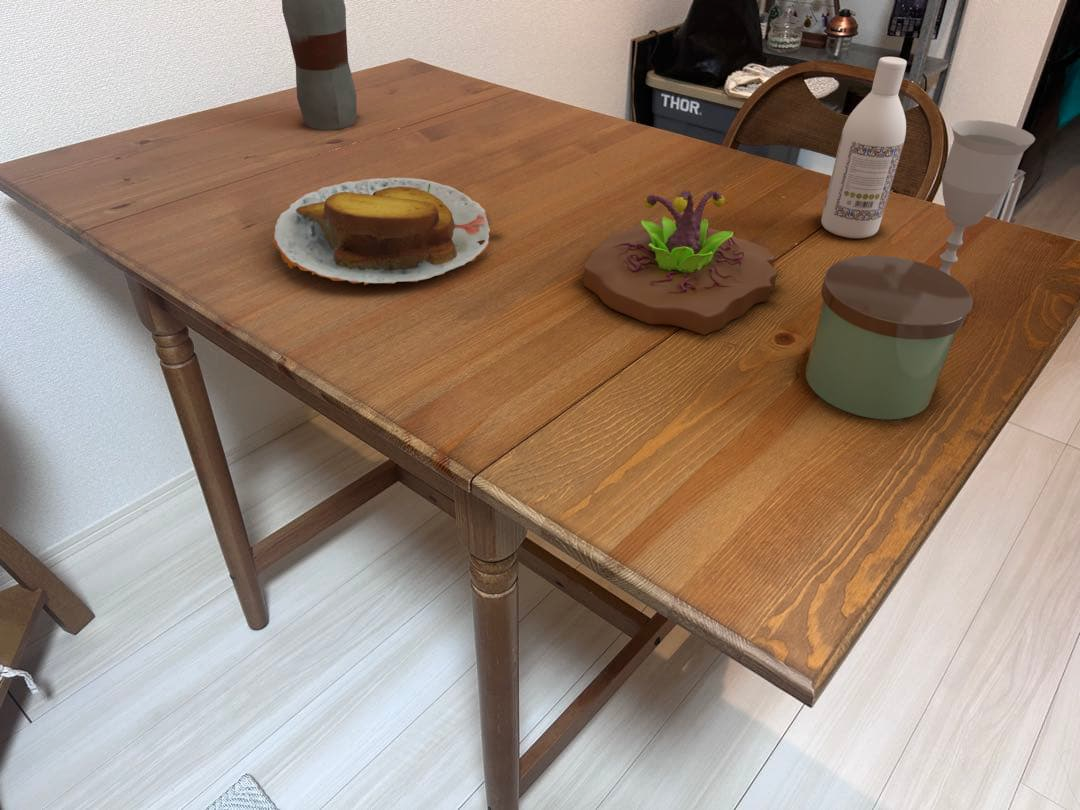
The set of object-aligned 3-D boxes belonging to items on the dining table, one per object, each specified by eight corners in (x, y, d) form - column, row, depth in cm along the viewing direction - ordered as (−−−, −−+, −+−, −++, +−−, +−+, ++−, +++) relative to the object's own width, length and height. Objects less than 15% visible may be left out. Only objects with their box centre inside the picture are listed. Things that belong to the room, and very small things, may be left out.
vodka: (300, 113, 133) (265, -101, 115) (357, 110, 135) (331, -102, 117) (301, 133, 126) (263, -92, 108) (361, 129, 128) (334, -93, 110)
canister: (959, 385, 75) (998, 291, 69) (893, 441, 69) (929, 342, 63) (845, 332, 82) (870, 242, 76) (775, 378, 76) (797, 284, 70)
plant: (553, 291, 88) (555, 193, 81) (639, 227, 101) (648, 138, 94) (723, 351, 79) (742, 247, 72) (794, 272, 92) (816, 177, 85)
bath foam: (888, 237, 100) (940, 67, 87) (837, 242, 98) (882, 70, 86) (859, 214, 105) (903, 50, 93) (810, 218, 104) (848, 52, 91)
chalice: (980, 298, 88) (1045, 133, 77) (956, 322, 84) (1021, 151, 73) (914, 275, 92) (967, 115, 81) (888, 297, 88) (940, 132, 77)
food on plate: (468, 190, 109) (466, 142, 105) (516, 279, 91) (516, 224, 86) (272, 211, 103) (262, 161, 99) (281, 310, 85) (269, 253, 81)
